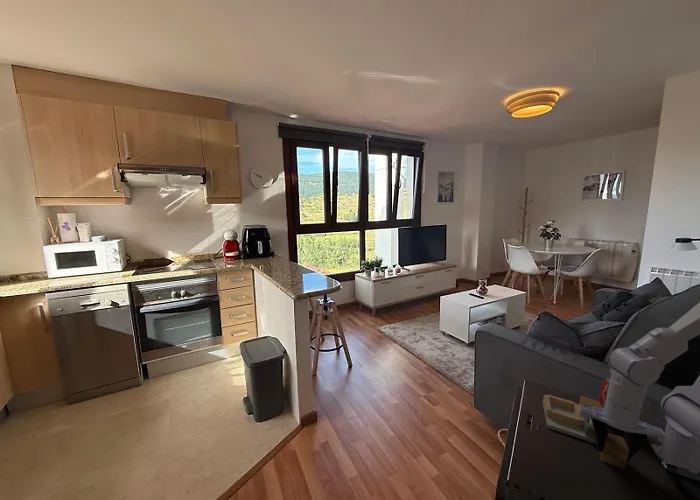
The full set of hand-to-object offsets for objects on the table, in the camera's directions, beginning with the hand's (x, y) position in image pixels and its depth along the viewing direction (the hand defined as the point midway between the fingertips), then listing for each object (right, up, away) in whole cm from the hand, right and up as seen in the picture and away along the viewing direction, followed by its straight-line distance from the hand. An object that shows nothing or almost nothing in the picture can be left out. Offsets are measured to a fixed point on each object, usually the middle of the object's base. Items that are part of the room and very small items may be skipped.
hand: (611, 453), depth 67 cm
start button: (+1, +1, +6) cm, 6 cm away
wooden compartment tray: (-1, +1, +11) cm, 11 cm away
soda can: (+11, 0, +11) cm, 16 cm away
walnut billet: (0, -1, 0) cm, 1 cm away
